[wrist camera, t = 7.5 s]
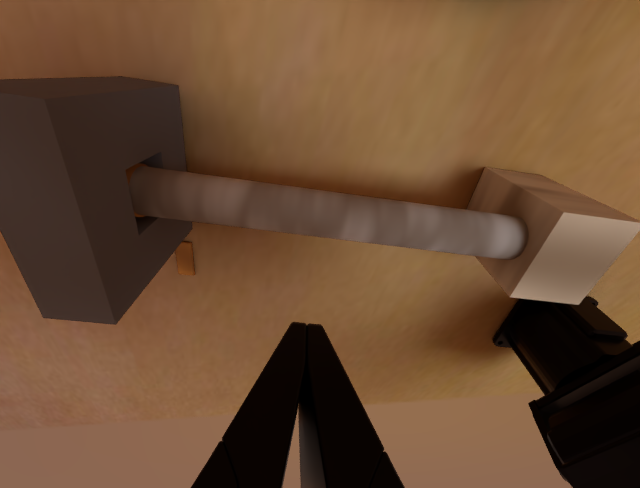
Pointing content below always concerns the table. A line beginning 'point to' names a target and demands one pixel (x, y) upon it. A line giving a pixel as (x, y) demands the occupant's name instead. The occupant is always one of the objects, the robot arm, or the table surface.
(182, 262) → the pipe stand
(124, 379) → the table surface
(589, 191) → the table surface
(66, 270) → the square block with hole
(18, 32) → the table surface
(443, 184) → the table surface
